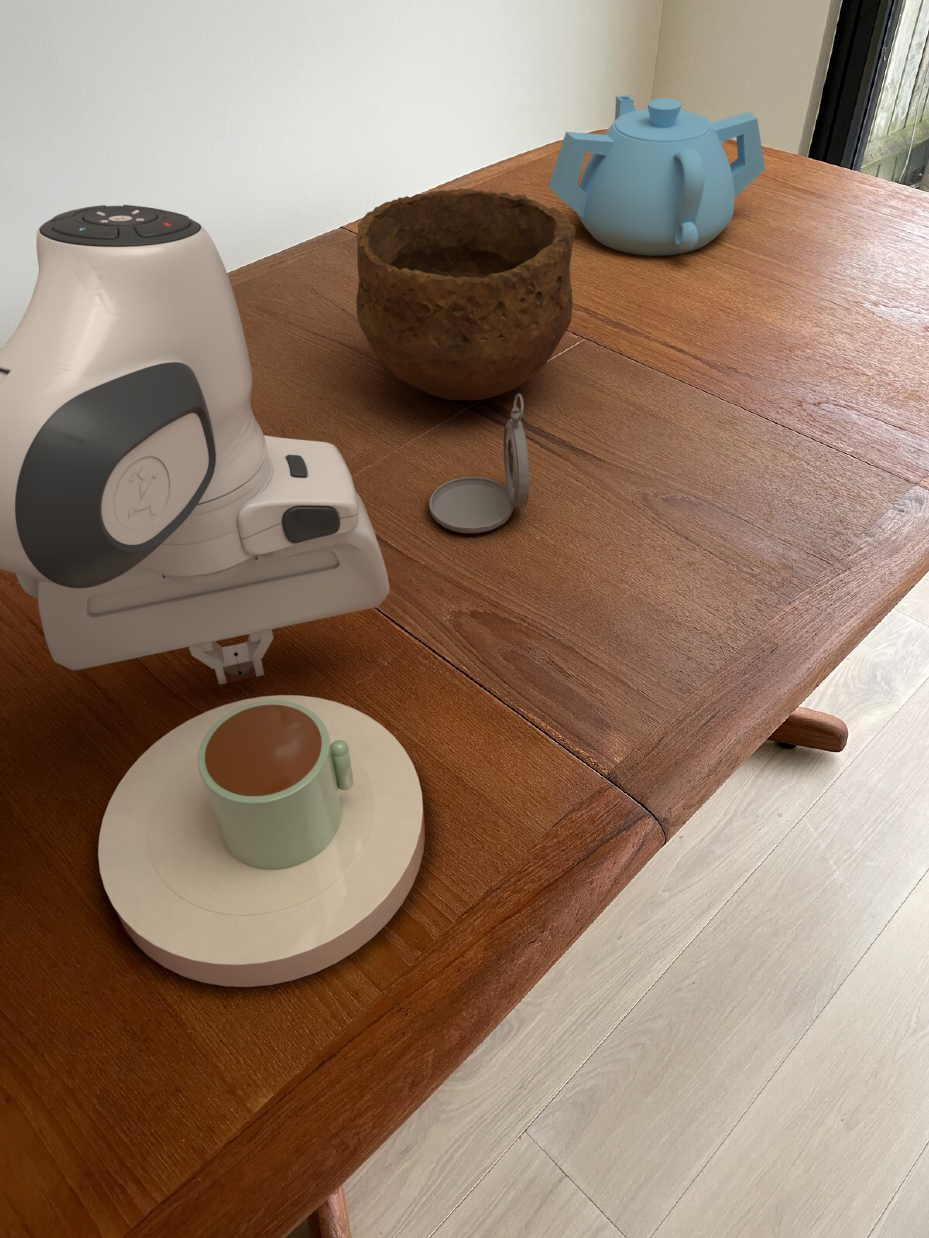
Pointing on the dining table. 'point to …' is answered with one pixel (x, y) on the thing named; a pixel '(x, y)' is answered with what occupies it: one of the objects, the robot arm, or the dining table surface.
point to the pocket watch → (487, 488)
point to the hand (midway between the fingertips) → (241, 673)
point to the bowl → (464, 289)
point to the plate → (249, 896)
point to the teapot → (657, 177)
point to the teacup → (274, 783)
